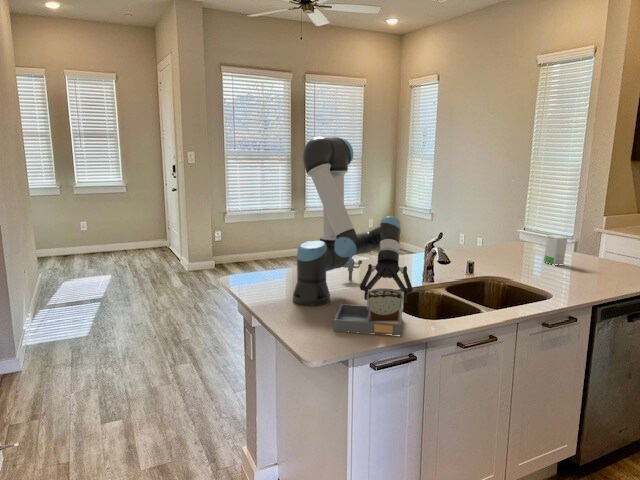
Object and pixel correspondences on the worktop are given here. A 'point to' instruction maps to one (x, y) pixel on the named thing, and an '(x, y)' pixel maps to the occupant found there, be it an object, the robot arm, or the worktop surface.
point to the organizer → (363, 321)
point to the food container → (384, 305)
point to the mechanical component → (351, 266)
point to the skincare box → (555, 249)
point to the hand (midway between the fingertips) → (384, 309)
